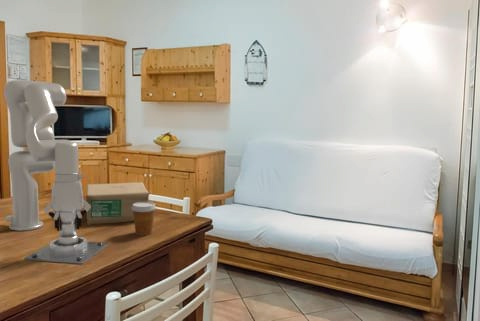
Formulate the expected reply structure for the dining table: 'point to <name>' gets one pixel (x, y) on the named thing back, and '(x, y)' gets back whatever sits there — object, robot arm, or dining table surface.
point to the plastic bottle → (68, 225)
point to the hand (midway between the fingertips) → (68, 228)
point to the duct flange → (67, 252)
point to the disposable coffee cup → (143, 217)
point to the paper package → (114, 201)
